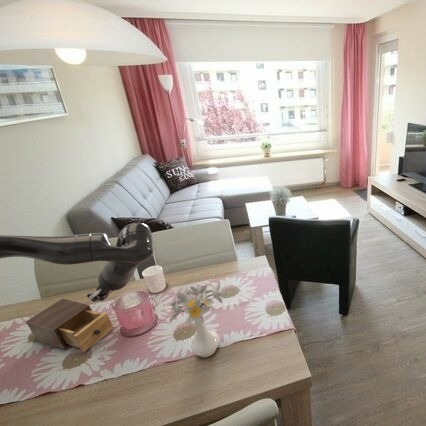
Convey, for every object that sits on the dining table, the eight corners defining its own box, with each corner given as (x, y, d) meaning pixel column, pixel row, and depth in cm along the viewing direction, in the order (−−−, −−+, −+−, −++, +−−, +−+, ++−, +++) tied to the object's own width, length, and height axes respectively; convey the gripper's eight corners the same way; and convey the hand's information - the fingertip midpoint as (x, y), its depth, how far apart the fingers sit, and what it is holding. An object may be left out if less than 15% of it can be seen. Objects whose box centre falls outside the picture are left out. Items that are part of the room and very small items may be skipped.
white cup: (164, 280, 139) (159, 263, 135) (169, 288, 134) (163, 270, 130) (146, 288, 135) (140, 270, 131) (150, 296, 129) (144, 278, 125)
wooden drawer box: (98, 323, 116) (89, 305, 112) (64, 349, 105) (53, 330, 101) (71, 316, 120) (62, 298, 116) (37, 340, 109) (25, 321, 105)
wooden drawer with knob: (115, 328, 112) (109, 313, 109) (86, 353, 102) (78, 336, 99) (88, 321, 116) (80, 305, 113) (57, 343, 106) (48, 328, 103)
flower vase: (239, 334, 108) (228, 280, 98) (202, 377, 93) (184, 318, 83) (212, 324, 113) (199, 271, 103) (173, 363, 98) (152, 305, 88)
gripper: (127, 251, 90) (111, 277, 99) (85, 277, 79) (71, 303, 88) (146, 267, 91) (128, 292, 100) (106, 295, 80) (90, 320, 88)
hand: (101, 297), depth 94 cm, fingers closed
